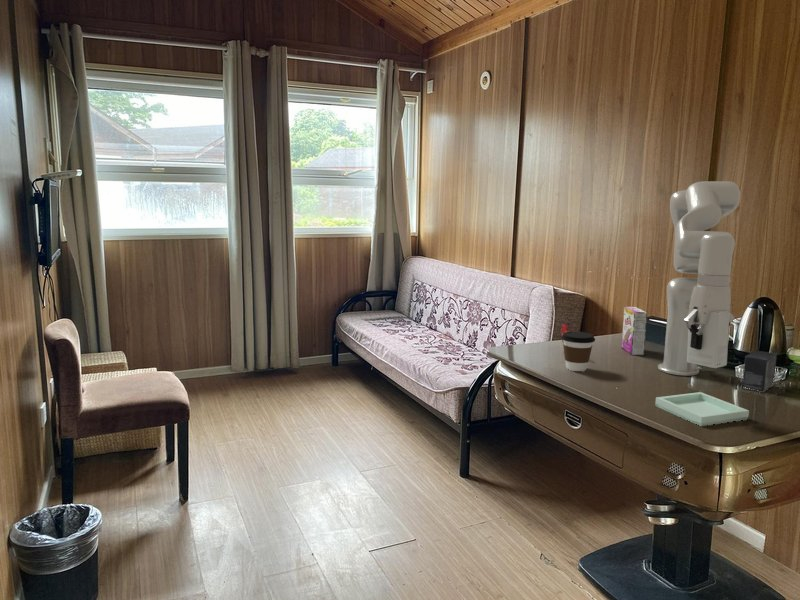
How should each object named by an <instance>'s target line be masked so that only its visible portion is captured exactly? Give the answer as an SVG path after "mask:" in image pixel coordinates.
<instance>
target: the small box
mask: <svg viewBox="0 0 800 600" xmlns="http://www.w3.org/2000/svg"><path fill="white" fill-rule="evenodd" d="M777 354H778V353H776V352H768V351H761V350H754V351H752V352H750V353H749V354H746V355H745V356H744V366H743V376H742V377H743V378H742V384H741V385H742V387H746V388H750V389H755V390H759V391H765V390H767V389H768V388H769V387H770V386H771V385H772V383H773V378H774V379H775V376H774V374H775V373H776V366H777V356H778V355H777ZM742 387H741V388H742ZM768 390H769V389H768ZM768 390H767V391H768Z"/></svg>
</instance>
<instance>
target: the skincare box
mask: <svg viewBox="0 0 800 600" xmlns="http://www.w3.org/2000/svg"><path fill="white" fill-rule="evenodd" d="M730 312H731V310H730V311H717V312H711V314H710V319H709V322H708V324H707V325H705V326H704V328H703V330H702V332H701V335H703V339H702V349H701V350H698V349H695V348H691V347H690V344H691V334H692V333H690V330H689V329H688V348H687V362H689V363H694V364H698V365H697V366H703V367H708V368H712V369H717V368H722V367H726V366H727V364H728V347H729V331H730V330H729V328H730V326H729V314H730ZM693 322H694V320H693ZM697 322H699V319H697ZM698 327H699V325H697V328H698Z"/></svg>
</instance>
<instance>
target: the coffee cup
mask: <svg viewBox="0 0 800 600" xmlns="http://www.w3.org/2000/svg"><path fill="white" fill-rule="evenodd" d="M562 339H563V342H564V344H563V342H562V345H563V346H562V348H563V355H564V360H565V367H566V369H567V370H568V369H569V370H568V371H570V370H572V371H571V372H575V371H582V372H585V371H586V370H587V368H588V363H589V362H590V357H591V354H592V349H593V343H595V341H596V338H595V336H594V334H592V333H589V332H584V331H570V332H565V333H563V335H561V340H562Z"/></svg>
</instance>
